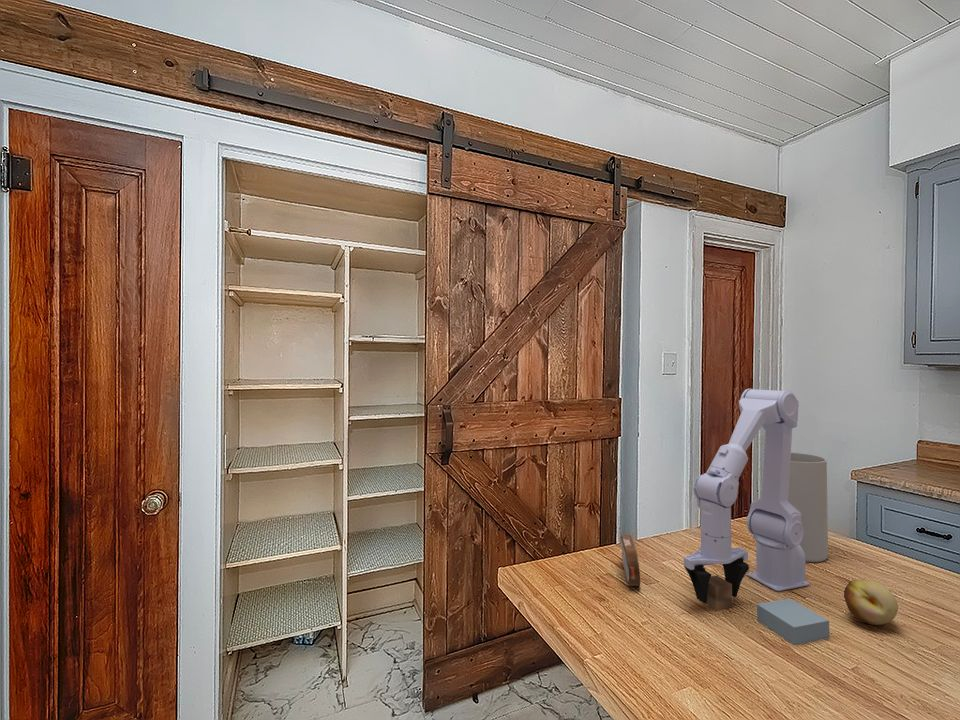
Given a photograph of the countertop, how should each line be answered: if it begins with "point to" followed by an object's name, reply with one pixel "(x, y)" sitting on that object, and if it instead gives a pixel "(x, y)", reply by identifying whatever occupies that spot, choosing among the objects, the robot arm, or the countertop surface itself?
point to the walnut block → (719, 594)
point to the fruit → (870, 602)
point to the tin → (630, 561)
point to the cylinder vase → (810, 502)
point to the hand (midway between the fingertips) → (716, 597)
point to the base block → (793, 621)
